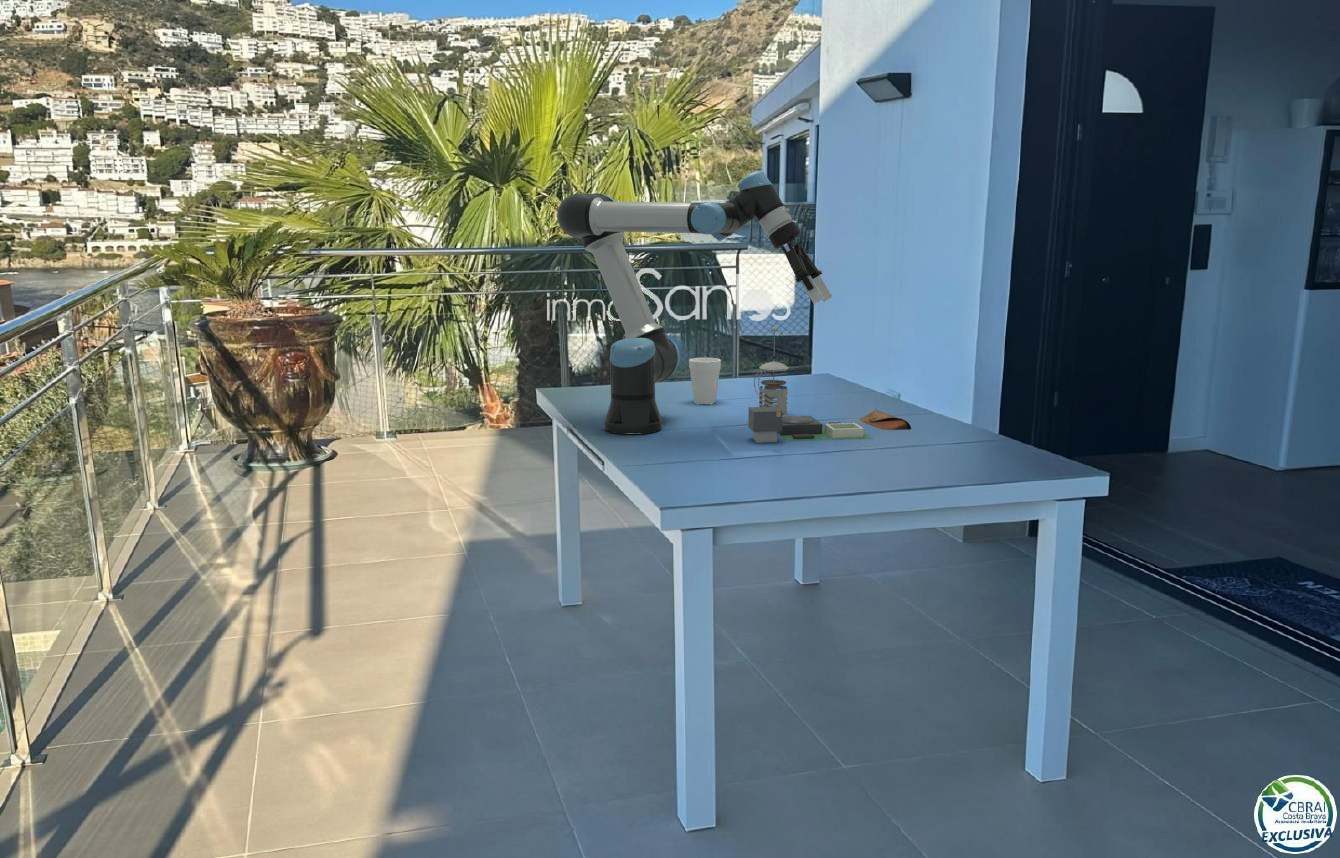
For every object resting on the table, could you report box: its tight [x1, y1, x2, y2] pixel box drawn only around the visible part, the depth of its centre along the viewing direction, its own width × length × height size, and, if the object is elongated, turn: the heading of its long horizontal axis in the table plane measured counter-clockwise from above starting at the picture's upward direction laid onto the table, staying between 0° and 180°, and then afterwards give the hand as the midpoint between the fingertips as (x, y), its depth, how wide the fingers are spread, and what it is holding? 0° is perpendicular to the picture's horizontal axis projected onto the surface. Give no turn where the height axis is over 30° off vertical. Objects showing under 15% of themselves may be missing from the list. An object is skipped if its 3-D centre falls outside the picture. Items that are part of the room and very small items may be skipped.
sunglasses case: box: [858, 408, 912, 431], centre depth 272 cm, size 18×7×7 cm, turn 18°
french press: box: [753, 326, 789, 416], centre depth 286 cm, size 10×12×25 cm
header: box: [824, 422, 865, 438], centre depth 258 cm, size 8×7×2 cm
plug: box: [747, 406, 783, 444], centre depth 252 cm, size 7×6×9 cm
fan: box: [777, 415, 824, 436], centre depth 264 cm, size 11×11×3 cm
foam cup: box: [688, 357, 722, 405], centre depth 307 cm, size 10×9×13 cm
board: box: [779, 421, 873, 442], centre depth 261 cm, size 22×18×3 cm
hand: (823, 300), depth 259 cm, fingers open, 13 cm apart
